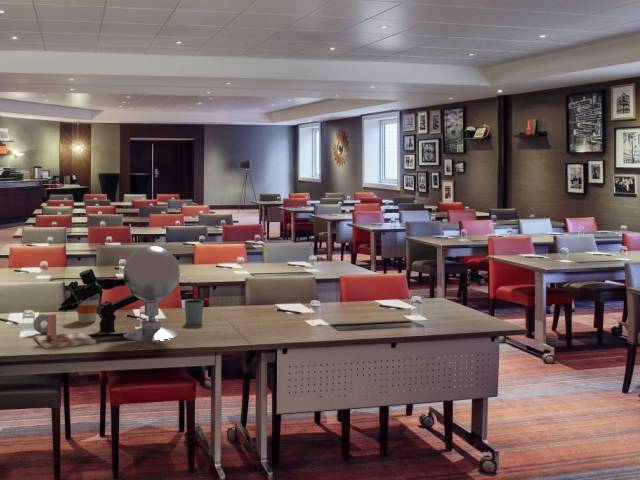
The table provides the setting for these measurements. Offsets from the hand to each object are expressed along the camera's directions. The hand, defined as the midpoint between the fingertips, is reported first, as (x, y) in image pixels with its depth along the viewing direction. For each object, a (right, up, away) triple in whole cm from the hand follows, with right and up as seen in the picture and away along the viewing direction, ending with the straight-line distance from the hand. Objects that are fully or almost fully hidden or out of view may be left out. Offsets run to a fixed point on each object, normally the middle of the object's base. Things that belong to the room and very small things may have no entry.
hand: (59, 307), depth 416 cm
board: (+5, -15, -9) cm, 19 cm away
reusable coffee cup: (+2, -11, +40) cm, 42 cm away
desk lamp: (+43, -15, +9) cm, 47 cm away
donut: (-10, -14, +7) cm, 18 cm away
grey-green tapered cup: (+60, -12, +42) cm, 74 cm away
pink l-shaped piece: (+2, -14, -12) cm, 18 cm away
